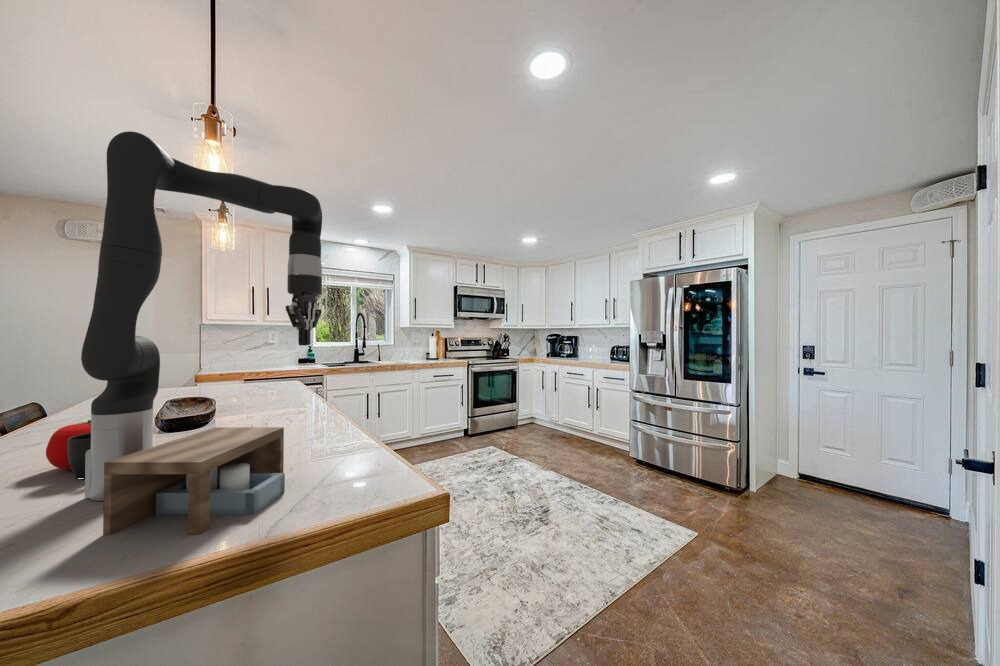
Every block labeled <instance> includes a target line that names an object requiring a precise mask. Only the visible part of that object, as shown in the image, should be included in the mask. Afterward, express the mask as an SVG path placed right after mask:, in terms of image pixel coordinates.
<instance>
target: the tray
mask: <svg viewBox="0 0 1000 666" xmlns="http://www.w3.org/2000/svg"><path fill="white" fill-rule="evenodd" d="M285 478H286V475H285V472H283V473H250V464H247V463H238V464H232V465H228V466H225V467H223V468H221V469H220V473H217V467H215V468H213V469H211V470H210V514H209V516H212V515H213V516H220V515H222V516H223V515H225V516H226V515H229V516H231V515H233V516H234V515H235V516H237V515H238V516H239V515H240V516H244V515H245V516H246V515H250V516H251V515H255V514H257V513H259V511H261V510H262V509H263V508H265V507H266V506H267V505H269V504H270V503H272V502H273V501H275V500H276V499H277V498H278V497H280V496H281V495H282V493H283V492H284V493H285V489H286V488H285V483H286V482H285V481H286V479H285ZM188 487H189V474H186V480H184V481H182V482H179V483H177V484H175V485H173V486H171V487H168V488H166V489H164V490H162V491H160V492H158V493H156V512H155V516H178V515H179V516H184V515H185V516H188ZM284 493H283V494H284ZM279 495H280V496H279ZM275 498H276V499H275ZM271 501H272V502H271Z"/></svg>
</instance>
